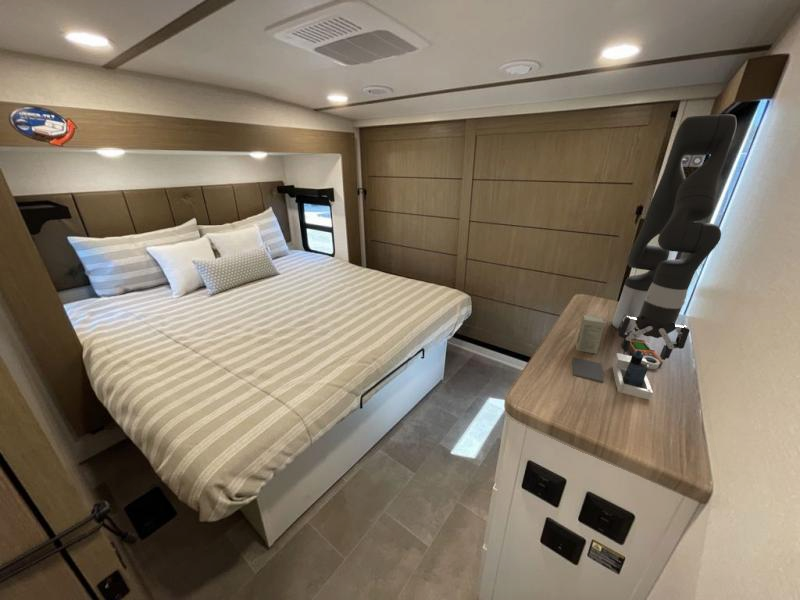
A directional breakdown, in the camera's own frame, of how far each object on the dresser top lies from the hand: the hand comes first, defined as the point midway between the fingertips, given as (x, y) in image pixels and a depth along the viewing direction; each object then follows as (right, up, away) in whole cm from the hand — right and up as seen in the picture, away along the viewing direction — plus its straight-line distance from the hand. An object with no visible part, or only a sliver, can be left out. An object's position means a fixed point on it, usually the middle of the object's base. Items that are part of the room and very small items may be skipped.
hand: (643, 354), depth 85 cm
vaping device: (0, -10, +5) cm, 11 cm away
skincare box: (-2, -2, +22) cm, 23 cm away
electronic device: (+14, -4, +19) cm, 24 cm away
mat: (-8, -7, +12) cm, 16 cm away
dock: (+3, -7, +10) cm, 13 cm away
